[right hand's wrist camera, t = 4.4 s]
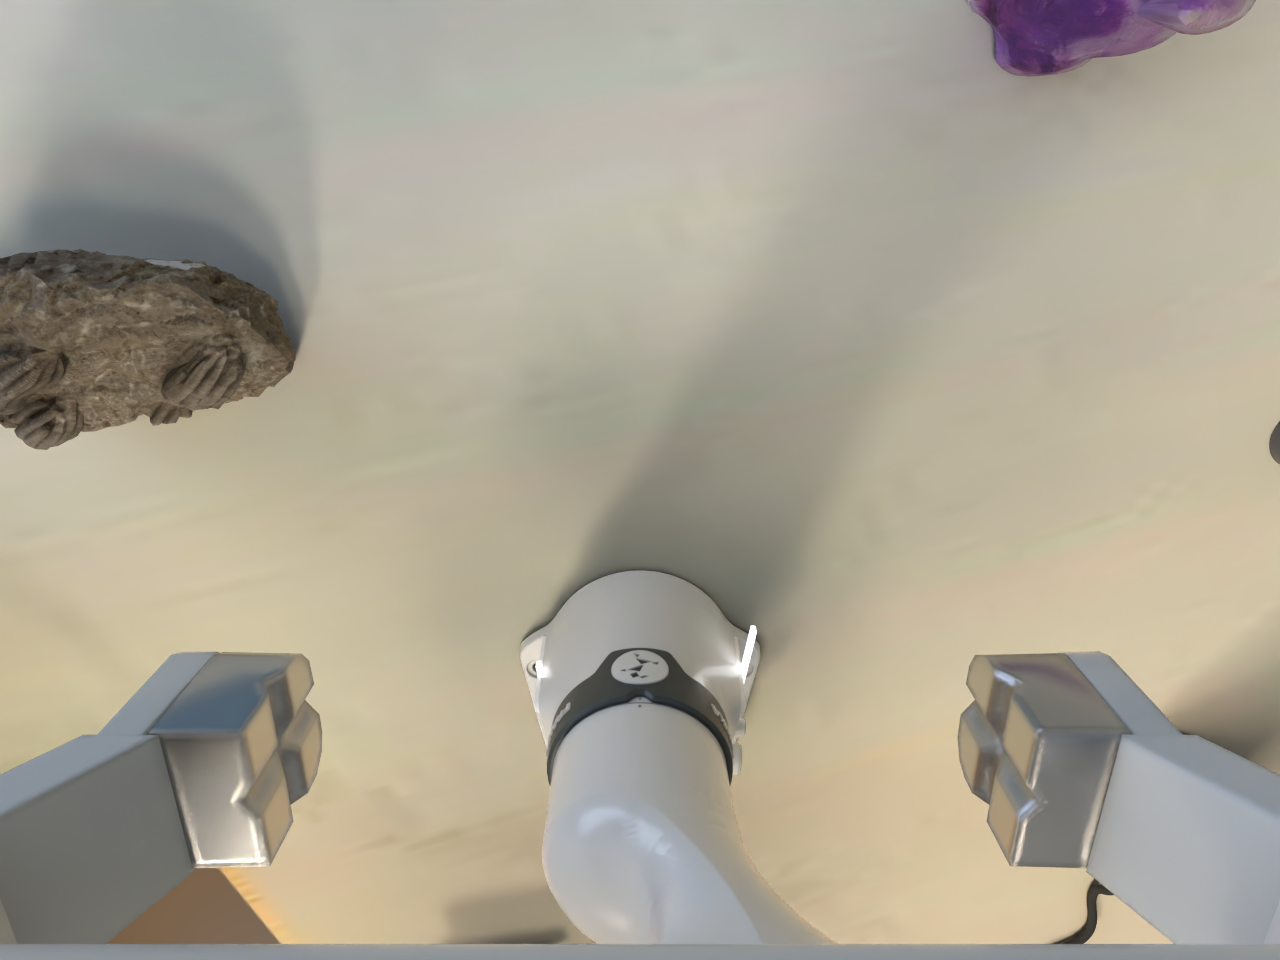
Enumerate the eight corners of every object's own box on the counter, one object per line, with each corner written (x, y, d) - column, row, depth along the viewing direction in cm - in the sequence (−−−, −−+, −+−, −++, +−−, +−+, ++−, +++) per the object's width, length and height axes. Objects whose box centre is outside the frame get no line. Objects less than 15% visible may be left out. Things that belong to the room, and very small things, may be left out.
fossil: (0, 494, 57) (-214, 357, 44) (23, 381, 61) (-164, 227, 48) (322, 425, 57) (207, 270, 44) (320, 318, 62) (215, 150, 49)
